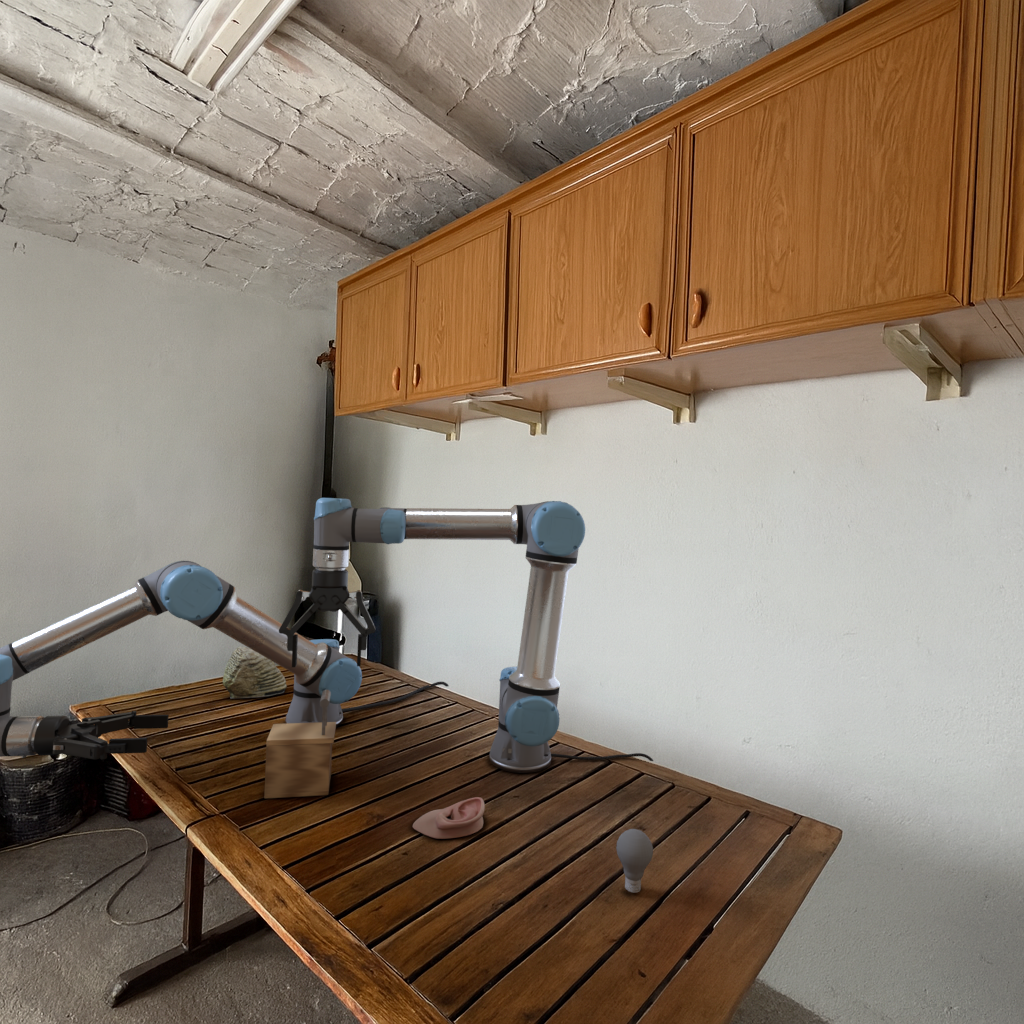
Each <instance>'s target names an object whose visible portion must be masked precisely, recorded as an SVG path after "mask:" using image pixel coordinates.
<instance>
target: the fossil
mask: <svg viewBox="0 0 1024 1024" xmlns="http://www.w3.org/2000/svg"><path fill="white" fill-rule="evenodd" d="M222 676H223V677H222V685H223V687H224V688H225V690H226V691H228V693H229V698H230V699H250V698H264V697H271V696H275V695H281V694H284V693H285V691H286V689H287V687H288V686H287V680H286V678H285V676H284V674H283V673H282V672H281V669H279V668H278V667H277V664H276V663H275V662H273V661H271V660H269V659H268V658H266V657H264V656H262V655H261V654H259V653H257V652H255V651H254V650H252V649H250V648H248V647H247V646H238V647H237V648H236V649H235V650H233V651H232V653H231V656H230V657H229V659H228V660H227V663H226V666H225V668H224V671H223V675H222Z"/></svg>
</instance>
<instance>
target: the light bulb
mask: <svg viewBox="0 0 1024 1024" xmlns="http://www.w3.org/2000/svg"><path fill="white" fill-rule="evenodd" d="M615 849H616V854H617V857H618V859H619V861H620V863H621V865H622V867H623V873H624V874H623V875H624V876H625V878H624V888H625V890H627V891H628V892H630V893H634V894H635V893H639V892H640V891H641V889H642V887H641V886H642V879H643V877H644V875H645V871H646V868H647V867H648V866H649V864H650V863H651V861H652V859H653V855H654V847H653V843H652V841H651V838H649V836H648V835H647V834H646V833H645V832H643V831H642V830H641V829H636V828H629V829H627V830H625V831H623V832H622V833H621V834H620V835H619V837H618V839H617V841H616V847H615Z"/></svg>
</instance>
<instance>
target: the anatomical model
mask: <svg viewBox="0 0 1024 1024" xmlns="http://www.w3.org/2000/svg"><path fill="white" fill-rule="evenodd" d="M485 809H486V806H485V801H484V798H482V797H480V796H479V797H478V796H476V797H470V798H467V799H463V800H461V801H458V802H456V803H454V804H451V805H449V806H447V807H444V808H440V809H434V810H430V811H428V812H426V813H424V814H422V815H421V816H420V817H419V818H417V819H416V820H415V821H414V822H413V824H412V828H413V830H415V831H417V832H419V833H421V834H422V835H424V836H427V837H429V838H432V839H437V840H440V839H441V840H445V839H455V838H461V837H466V836H470V835H472V834H475V833H477V832H479V831H480V830H482V828H483V827H484V818H483V817H484V816H483V815H484V813H485Z"/></svg>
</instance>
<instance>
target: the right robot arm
mask: <svg viewBox="0 0 1024 1024" xmlns="http://www.w3.org/2000/svg"><path fill="white" fill-rule="evenodd" d="M313 523H314V524H313V549H312V550H313V551H312V555H313V556H312V566H313V567H314V569H313V570H312V573H311V574H312V575H311V576H312V577H311V589H310V591H309V590H307V591H306V590H303V589H298V590H297V591H296V594H295V599H294V603H293V604H292V606H291V608H290V610H289V611H288V613H287V614H286V617H284V620H283V621H282V623H281V624H282V625H281V627H280V629H279V633H281V634H285V635H287V650H288V651H292V667H296V665H297V645H298V634H299V633H297V631H299V629H301V627H302V626H303V625H304V624H305V623H306V622H307V621H308V620H309V619H310V618H311V617H312V615H313V614H315V612H316V611H320V612H323V613H324V612H333V613H336V612H338V611H340V612H341V613H342V614H343V615H344V616H345V617H346V618H347V620H349V622H350V623H351V624H352V625H353V626H354V628H355V629H356V630H357V631H358V634H357V652H356V653H357V654H356V655H357V656H356V663H357V666H359V667H361V663H362V662H361V661H362V660H361V659H362V651H366V650H367V646H368V636H370V635H371V634H375V633H376V631H377V630H376V626H375V623H374V621H373V619H372V617H371V615H370V612H369V611H368V609H367V606H366V605H365V603H364V600H363V591H362V590H361V589H357V590H356V591H349V587H348V586H349V570H348V569H347V568H348V567H349V566H350V565H349V564H350V563H349V561H350V543H368V544H369V543H370V544H385V545H393V544H394V545H395V544H402V543H404V541H405V540H448V541H449V540H453V541H455V540H459V541H461V540H463V541H465V540H467V541H469V540H471V541H510V542H511V543H513V545H526V550H525V559H526V560H527V562H528V563H529V564H530V570H529V578H528V585H527V592H526V600H525V606H524V607H525V608H524V615H523V621H522V622H523V623H522V629H521V630H522V631H521V637H520V644H519V645H520V646H519V652H518V660H517V666H507V667H504V668H502V669H501V670H500V678H499V679H498V680H499V698H498V699H499V701H498V725H497V730H496V733H495V735H494V739H493V741H492V744H491V746H490V749H489V757H488V758H489V762H490V763H491V765H493V766H494V767H495V768H498V769H499V770H502V771H505V772H510V773H514V774H515V773H517V774H531V773H538V772H541V771H544V770H546V769H547V768H549V767H550V766H551V763H552V758H562V759H570V760H577V761H578V760H579V761H602V760H604V761H605V760H613V759H622V758H623V759H625V758H633V757H635V758H636V757H643V758H646V759H647V760H648V761H650V762H654V759H653V758H652V757H651V756H650V755H648V754H645V753H642V752H636V753H626V754H612V755H604V756H577V755H568V754H559V753H552V751H551V748H550V744H549V741H551V740H552V739H553V738H554V737H555V735H556V733H557V732H558V730H559V727H560V719H561V718H560V712H559V709H558V704H559V703H558V702H559V697H560V696H559V695H560V687H561V683H560V681H559V680H558V679H557V677H556V676H555V675H556V668H557V667H556V666H557V659H558V653H559V645H560V638H561V631H562V623H563V615H564V609H565V601H566V595H567V588H568V587H567V586H568V579H569V572H570V570H572V569H573V568H575V567H576V566H577V562H578V556H579V549H580V547H581V546H582V544H583V542H584V541H585V536H586V523H585V520H584V517H583V515H582V514H581V513H580V511H579V510H577V509H576V508H575V507H574V506H573V505H572V504H569V503H568V502H565V501H562V500H550V501H549V500H547V501H542V502H538V503H537V502H536V503H529V504H513V506H512V507H510V508H435V507H434V508H431V507H429V508H427V507H426V508H425V507H424V508H423V507H422V508H421V507H419V508H418V507H417V508H415V507H407V508H404V507H380V508H358V507H353V506H352V501H351V499H349V498H336V497H335V498H334V497H320V498H318V499H317V500H316V501H315V511H314V517H313ZM307 598H309V599H310V601H311V602H312V603H313V604H312V605H311V606H310V607H309V608H308V609H307V610H306V611H305V612H304V613H303V614H302V616H301V617H300V618H299V619H298V620H297V621H296V622H295V623H294V624H293V625H292V626H291V627H289V625H290V623H291V621H292V620H293V618H294V616H295V614H296V613H297V610H298V609H299V607H300V605H301V603H302V602H304V601H306V600H307ZM350 598H351V599H352V601H353V602H356V604H357V606H358V609H359V611H360V613H361V615H362V618H363V619H364V620H363V621H364V622H365V624H366V626H367V627H366V626H364V624H363V623H362V622H361V621H360V620H359V619H358V617H357V616H356V614H355V613H353V611H352V610H351V608H350V607H349V606H348V604H346V603H347V601H348V600H349V599H350ZM287 627H288V628H287ZM295 632H296V633H297V634H295Z"/></svg>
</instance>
